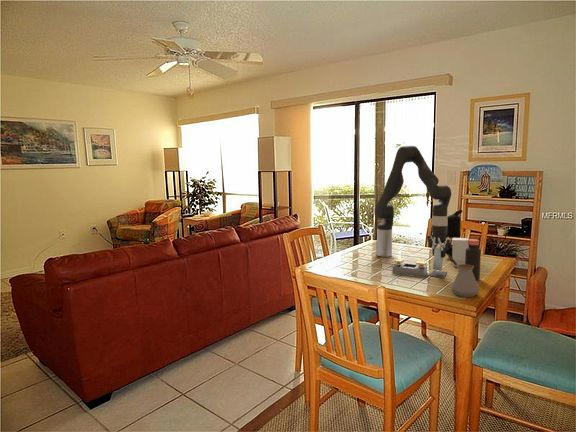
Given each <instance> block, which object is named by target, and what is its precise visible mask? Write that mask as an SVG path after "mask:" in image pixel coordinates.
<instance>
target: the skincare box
mask: <svg viewBox="0 0 576 432" xmlns="http://www.w3.org/2000/svg"><path fill="white" fill-rule="evenodd" d="M468 239H469V238H468V237H466V238H465V237H460V238H453V239H452V258H453V259H454V260H455V262H456V263H457V265H461V264H465V252H466V248H468V247H469V245H468ZM451 262H452V261H451ZM451 265H452V267H457V266H456V265H455V264H454V263H453V262H452V263H451ZM457 268H458V267H457Z"/></svg>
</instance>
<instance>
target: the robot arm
mask: <svg viewBox="0 0 576 432" xmlns="http://www.w3.org/2000/svg"><path fill="white" fill-rule="evenodd" d="M406 163H413V164H414V165H415V166H416V167H417V172H418V173H417V174H418V178H419V179H420V181H421V182H422V183H423V185H425V186H426V190H427V192H428V195H429V196H430V198H432V199H433V200H438V201H437V203H435V204H433V206H432V218H431V234H430V235H427V237H426V238H427V243H428V246H429V247H430V248H432V252H431V253H432V254H431V255H432V256H433V257H434V248H436V246H440V247H441V250H442V251H441V258H443V259H444V258H446V257H445V255H446V250H449V249H450V245H451V242H452V239H450V238H448V237H447V225H448V219H447V217H448V209H449V208H448V207H449V204H450V201H451V197H452V189H451V187H449V186H448V185H447V184H446V185H445V184H444V185H438V184H439V178H438V176H437V175H436V174H435V173H434V172H433V170H431V168H430V167H429V165H428V163H427V162H426V161H425V159H424V157H423V155H422V153H421V152H420V150H419V148H418V147H417V146H415V145H403V146H402V145H401V146H400V147H399V148H398V149H397V152H396V153H395V157H394V161H393V164H392V168H391V170H390V173H389V176H388V178H387V179H386V183H385V185H384V189H383V191H382V194H381V196H380V197H379V199H378V201H377V202H376V205H375V207H374V216H375V218H376V219H380V220H382V219H383V220H382V221H381V222H379V223H377V226H376V232H377V233H376V234H377V235H376V236H377V237H376V238H377V239H376V241H375V255H376V256H378V257H382V258H386V257H387V258H389V257H392V255H393V226H394V215H395V214H394V213H395V210H394V206H393V204H392V203H389V202H391V201H392V199H394V198H395V197H397V195H398V194H400V192H401V190H402V188H403V185H404V182H405V181H404V175H403V168H404V167H405V165H406Z"/></svg>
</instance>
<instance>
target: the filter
mask: <svg viewBox="0 0 576 432" xmlns="http://www.w3.org/2000/svg"><path fill="white" fill-rule="evenodd" d="M462 213H463V210H462V209H459V210H455V212H454V213H452V214H449V215H447V219H448V225H447V238H448V239H453V238H461V229H462V228H461V226H462V225H461V223H462V220H461V217H460V216H459V215H461V214H462ZM446 254H449V255H450V256H451V257H452V242H451V245H450V249H449V250H446ZM446 254H445V255H446Z"/></svg>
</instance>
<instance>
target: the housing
mask: <svg viewBox="0 0 576 432" xmlns="http://www.w3.org/2000/svg"><path fill="white" fill-rule="evenodd" d="M391 267H392V269H391V271H392V273H391V274H393V275H400V276H401V275H402V276H410V277H418V278H424V277H425V276H426V275H427V273H428V264H426V265H424V268H421V267H420V265H416V263H410V262H409V263H408V262H404V261H403V262H402V263H400V265H397V263H396V262H394V264H393V265H392V266H391Z"/></svg>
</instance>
